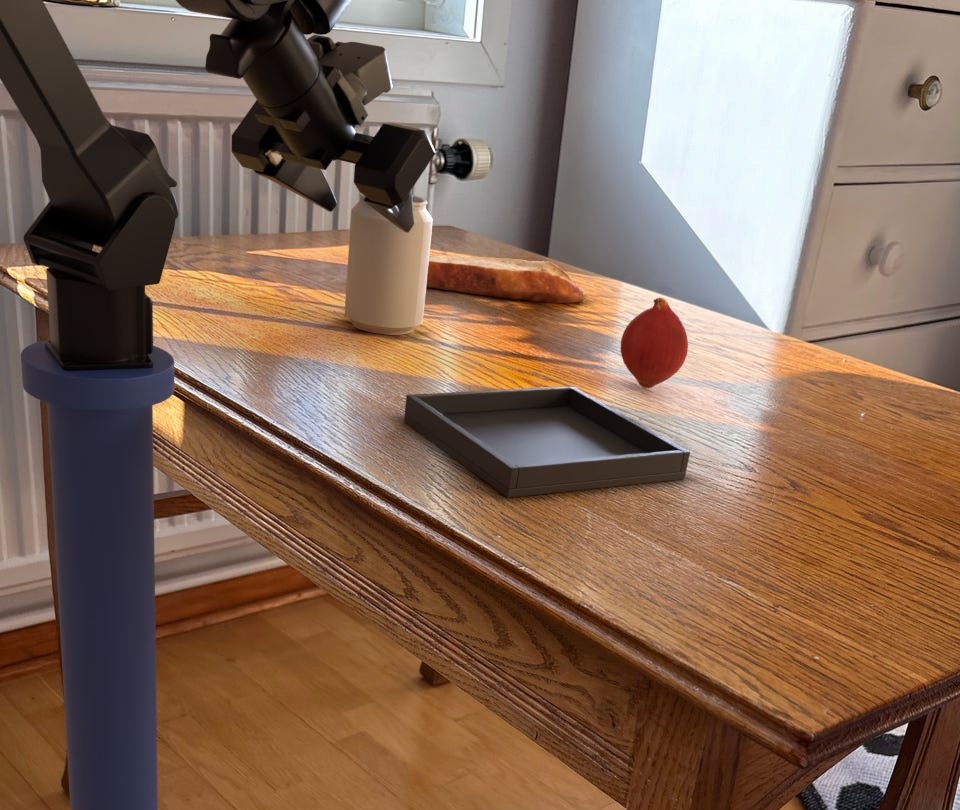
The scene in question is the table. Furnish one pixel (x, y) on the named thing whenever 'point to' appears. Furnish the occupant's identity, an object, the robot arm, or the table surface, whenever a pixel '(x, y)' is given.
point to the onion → (654, 344)
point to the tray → (544, 440)
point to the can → (387, 270)
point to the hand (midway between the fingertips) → (370, 217)
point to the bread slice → (503, 278)
